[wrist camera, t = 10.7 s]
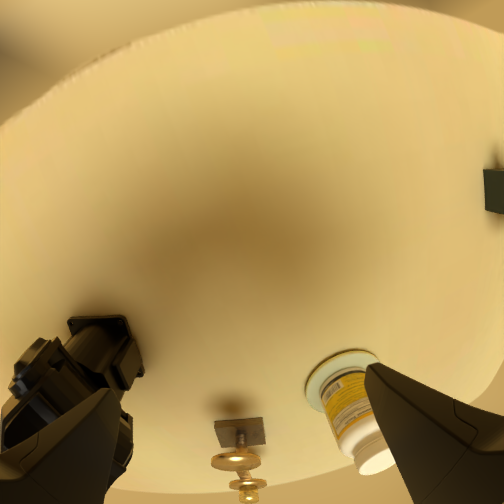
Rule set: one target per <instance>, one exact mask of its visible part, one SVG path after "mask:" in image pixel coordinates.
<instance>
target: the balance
mask: <svg viewBox="0 0 504 504" xmlns="http://www.w3.org/2000/svg"><path fill="white" fill-rule="evenodd" d="M214 429H215V431H216V434H217V437H218V440H219V443H220V445H221V448H227V447H236V452H231V453H223V454H218V455H215V456H213V457H212V458H211V465H212V467H214V468H216V469H219V470H224V471H236V472H237V474H238V476H239V477H240V480H234V481H231V482H230V483H229V487H230V488H231V489H235V490H239V501H240V502H241V503H245V504H252V503H256V502H258V501H259V497H258V489H259V488H263V487H265V486H267V483H266V480H263V479H252V477H251V475H250V473H249V470H251V469H254V468H257V467H259V466H260V465H261V459H260V457H259V456H258V455H256V454H252V453H248V450H247V446H253V445H263V444H266V441H265V434H264V427H263V420H262V417H261V418H252V419H241V420H229V421H215V425H214Z"/></svg>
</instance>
